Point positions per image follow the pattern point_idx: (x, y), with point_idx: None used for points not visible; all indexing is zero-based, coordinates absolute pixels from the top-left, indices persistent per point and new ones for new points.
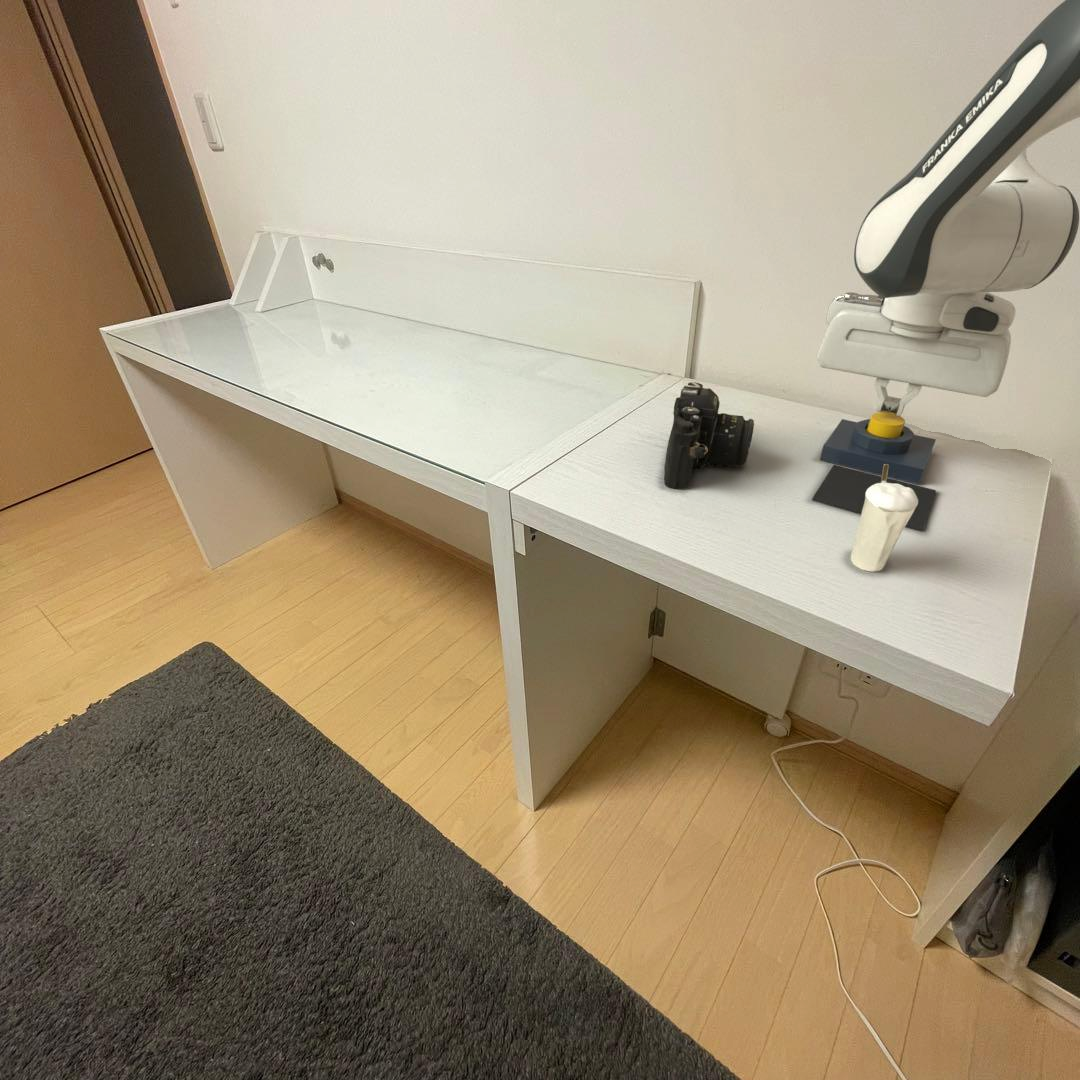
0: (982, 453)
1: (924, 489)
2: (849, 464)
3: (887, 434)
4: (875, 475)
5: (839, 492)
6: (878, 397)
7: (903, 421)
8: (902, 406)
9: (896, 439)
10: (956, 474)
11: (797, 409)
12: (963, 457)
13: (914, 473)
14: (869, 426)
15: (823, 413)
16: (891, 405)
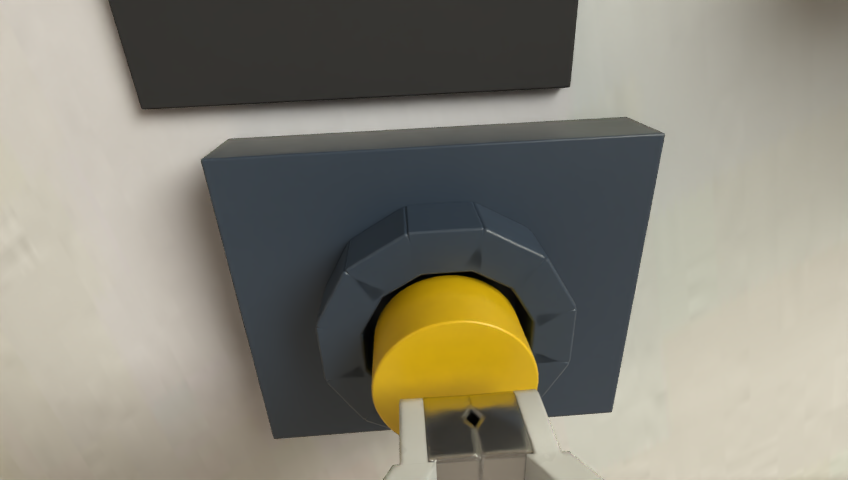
0: (165, 472)
1: (179, 85)
2: (509, 124)
3: (422, 295)
4: (390, 91)
5: None
6: (577, 460)
7: (380, 398)
8: (407, 447)
9: (372, 282)
10: (160, 305)
11: (732, 447)
12: (196, 424)
13: (243, 150)
14: (518, 321)
15: (649, 463)
16: (472, 436)
